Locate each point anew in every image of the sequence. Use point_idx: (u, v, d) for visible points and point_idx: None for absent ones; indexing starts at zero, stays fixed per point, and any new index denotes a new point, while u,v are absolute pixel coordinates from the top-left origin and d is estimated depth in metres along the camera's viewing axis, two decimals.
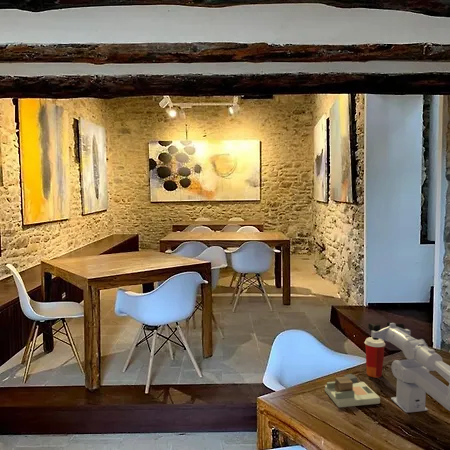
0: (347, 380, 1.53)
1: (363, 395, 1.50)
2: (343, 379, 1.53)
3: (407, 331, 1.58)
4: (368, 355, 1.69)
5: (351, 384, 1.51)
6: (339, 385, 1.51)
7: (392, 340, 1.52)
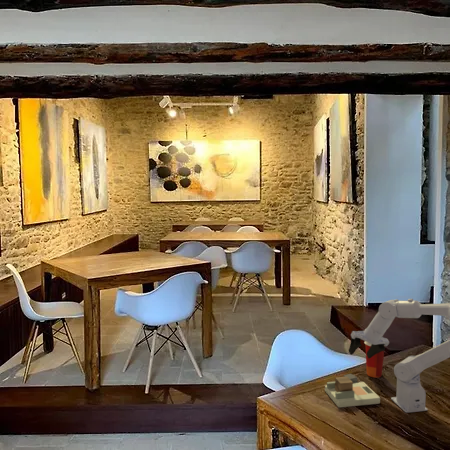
0: (347, 380, 1.53)
1: (363, 395, 1.50)
2: (343, 379, 1.53)
3: (385, 339, 1.59)
4: None
5: (351, 384, 1.51)
6: (339, 385, 1.51)
7: (371, 326, 1.54)
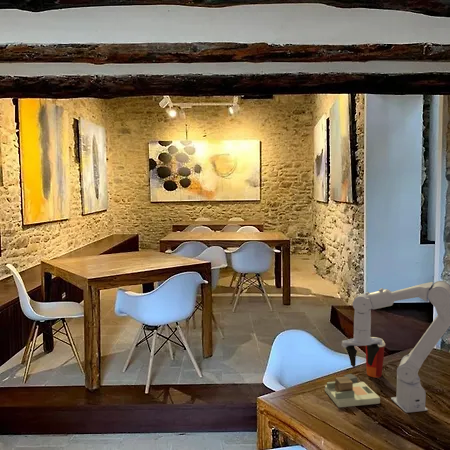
0: (347, 380, 1.53)
1: (363, 395, 1.50)
2: (343, 379, 1.53)
3: None
4: None
5: (351, 384, 1.51)
6: (339, 385, 1.51)
7: (355, 328, 1.53)
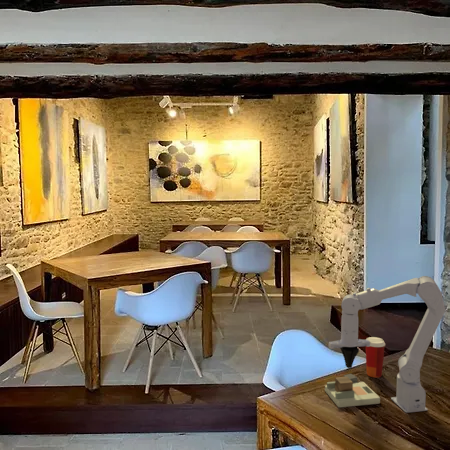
0: (347, 380, 1.53)
1: (363, 395, 1.50)
2: (343, 379, 1.53)
3: None
4: (368, 355, 1.69)
5: (351, 384, 1.51)
6: (339, 385, 1.51)
7: (342, 329, 1.52)
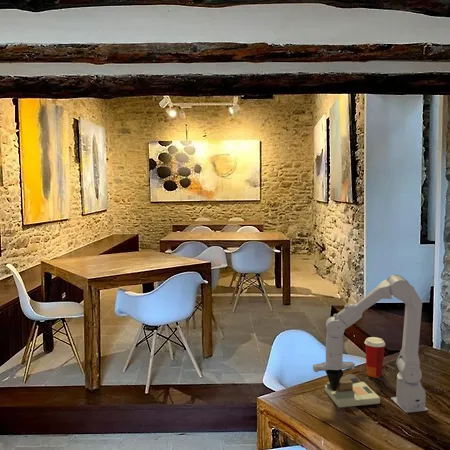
0: (347, 380, 1.53)
1: (363, 395, 1.50)
2: (343, 379, 1.53)
3: None
4: (368, 355, 1.69)
5: (351, 384, 1.51)
6: (339, 385, 1.51)
7: (327, 352, 1.50)
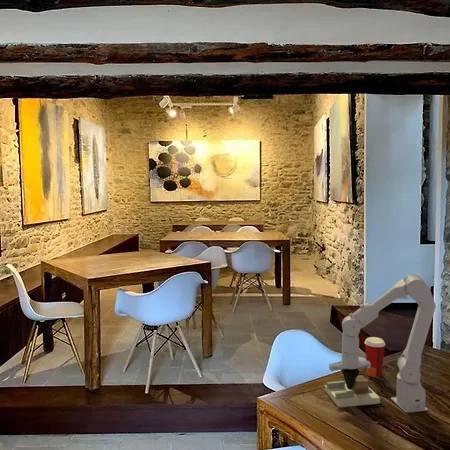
0: (363, 378, 1.53)
1: (363, 395, 1.50)
2: (358, 377, 1.54)
3: None
4: (368, 355, 1.69)
5: (367, 383, 1.52)
6: (355, 383, 1.52)
7: (343, 351, 1.51)
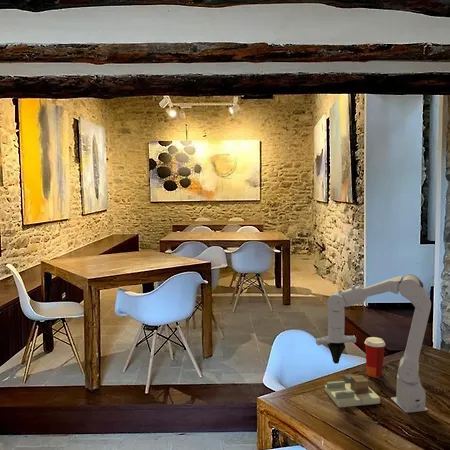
0: (362, 378, 1.53)
1: (363, 395, 1.50)
2: (358, 377, 1.54)
3: None
4: (368, 355, 1.69)
5: (367, 383, 1.52)
6: (355, 383, 1.52)
7: (329, 326, 1.56)
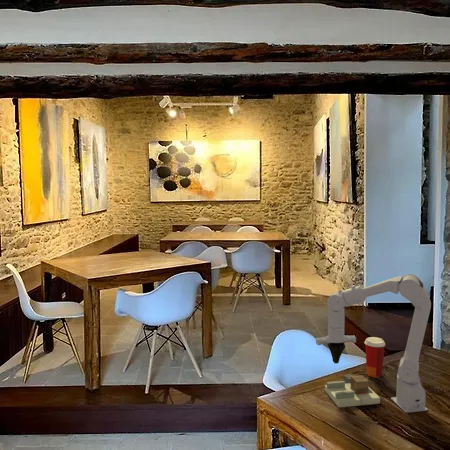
0: (362, 378, 1.53)
1: (363, 395, 1.50)
2: (358, 377, 1.54)
3: None
4: (368, 355, 1.69)
5: (367, 383, 1.52)
6: (355, 383, 1.52)
7: (329, 326, 1.56)
